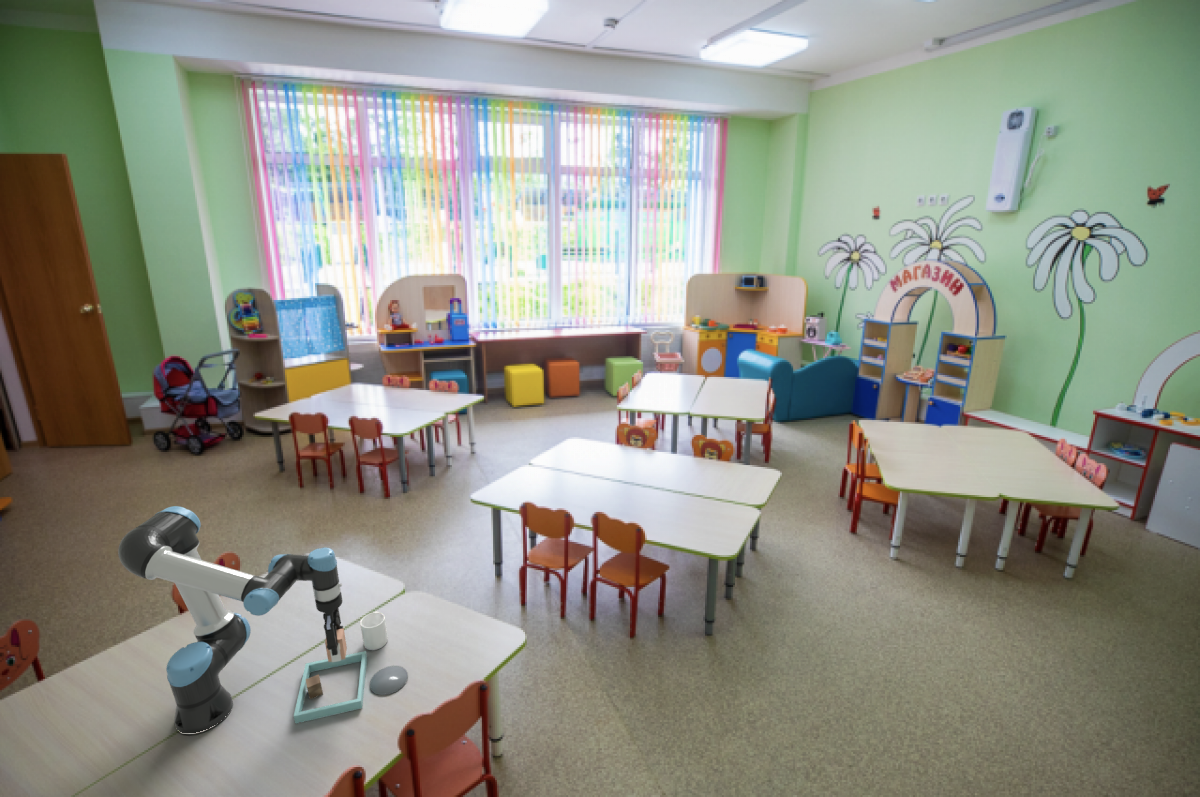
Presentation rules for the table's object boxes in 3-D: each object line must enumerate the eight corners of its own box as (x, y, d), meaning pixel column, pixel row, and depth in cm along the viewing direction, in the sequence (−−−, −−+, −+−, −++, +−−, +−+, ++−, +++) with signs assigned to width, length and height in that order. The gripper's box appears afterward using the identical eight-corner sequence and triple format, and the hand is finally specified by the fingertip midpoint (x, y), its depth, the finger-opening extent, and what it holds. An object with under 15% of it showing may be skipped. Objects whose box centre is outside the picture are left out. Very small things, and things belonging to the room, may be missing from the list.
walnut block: (309, 699, 186) (307, 687, 184) (308, 691, 189) (305, 679, 188) (323, 694, 188) (320, 682, 186) (321, 686, 191) (318, 674, 190)
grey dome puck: (368, 698, 186) (368, 697, 186) (371, 671, 197) (371, 670, 197) (407, 689, 189) (407, 688, 189) (407, 663, 200) (407, 662, 200)
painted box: (328, 662, 184) (324, 642, 181) (330, 651, 189) (327, 631, 186) (345, 659, 185) (341, 639, 183) (346, 647, 190) (343, 628, 187)
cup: (361, 652, 205) (358, 629, 202) (368, 629, 217) (364, 607, 213) (386, 649, 207) (382, 626, 204) (391, 626, 218) (387, 604, 215)
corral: (295, 723, 177) (293, 716, 176) (307, 670, 198) (305, 663, 197) (362, 708, 183) (360, 700, 182) (367, 657, 203) (366, 650, 202)
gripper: (337, 611, 172) (347, 672, 180) (344, 575, 189) (352, 632, 196) (310, 616, 170) (321, 677, 178) (319, 579, 186) (328, 637, 194)
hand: (337, 654), depth 187 cm, fingers closed on painted box, 5 cm apart
